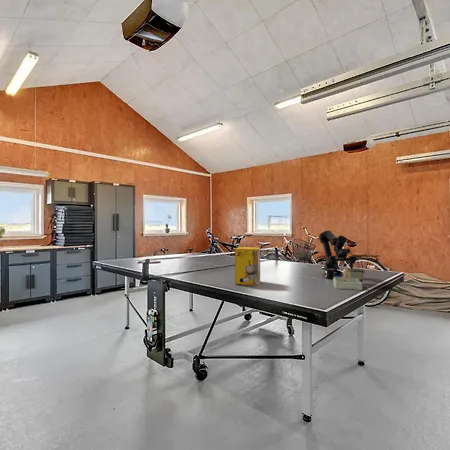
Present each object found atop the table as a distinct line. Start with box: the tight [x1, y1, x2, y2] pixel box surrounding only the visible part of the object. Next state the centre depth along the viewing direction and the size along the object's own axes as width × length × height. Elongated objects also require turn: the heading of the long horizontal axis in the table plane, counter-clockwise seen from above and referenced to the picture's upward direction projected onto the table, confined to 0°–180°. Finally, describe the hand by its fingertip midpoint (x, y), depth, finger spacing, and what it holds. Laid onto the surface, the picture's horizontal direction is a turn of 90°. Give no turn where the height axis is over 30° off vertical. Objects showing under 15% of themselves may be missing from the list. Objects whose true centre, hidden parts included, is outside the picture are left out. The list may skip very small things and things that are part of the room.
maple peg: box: [343, 268, 351, 282], centre depth 201 cm, size 4×4×12 cm
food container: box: [351, 268, 365, 284], centre depth 213 cm, size 12×6×10 cm, turn 74°
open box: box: [332, 277, 363, 291], centre depth 201 cm, size 16×16×4 cm
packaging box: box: [234, 246, 261, 286], centre depth 214 cm, size 16×16×25 cm
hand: (345, 269), depth 203 cm, fingers open, 9 cm apart
